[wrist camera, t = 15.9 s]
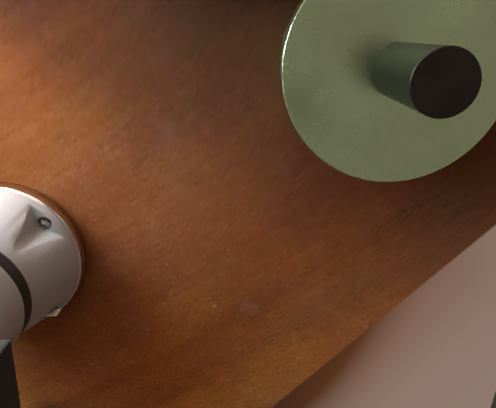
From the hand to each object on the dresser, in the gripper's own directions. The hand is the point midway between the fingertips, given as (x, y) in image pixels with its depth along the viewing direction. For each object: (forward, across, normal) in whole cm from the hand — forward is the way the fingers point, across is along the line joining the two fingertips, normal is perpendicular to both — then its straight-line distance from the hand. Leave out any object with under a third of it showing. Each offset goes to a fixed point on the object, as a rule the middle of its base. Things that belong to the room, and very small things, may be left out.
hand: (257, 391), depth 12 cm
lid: (+22, +10, +7) cm, 25 cm away
